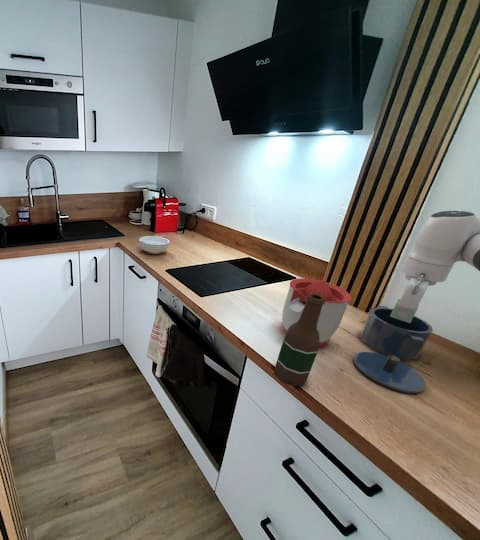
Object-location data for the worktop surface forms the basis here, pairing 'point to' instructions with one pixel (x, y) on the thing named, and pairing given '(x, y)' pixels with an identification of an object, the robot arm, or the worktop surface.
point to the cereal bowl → (154, 244)
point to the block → (395, 315)
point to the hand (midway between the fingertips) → (403, 312)
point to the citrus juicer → (329, 312)
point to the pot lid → (389, 372)
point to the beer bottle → (300, 345)
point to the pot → (395, 334)
